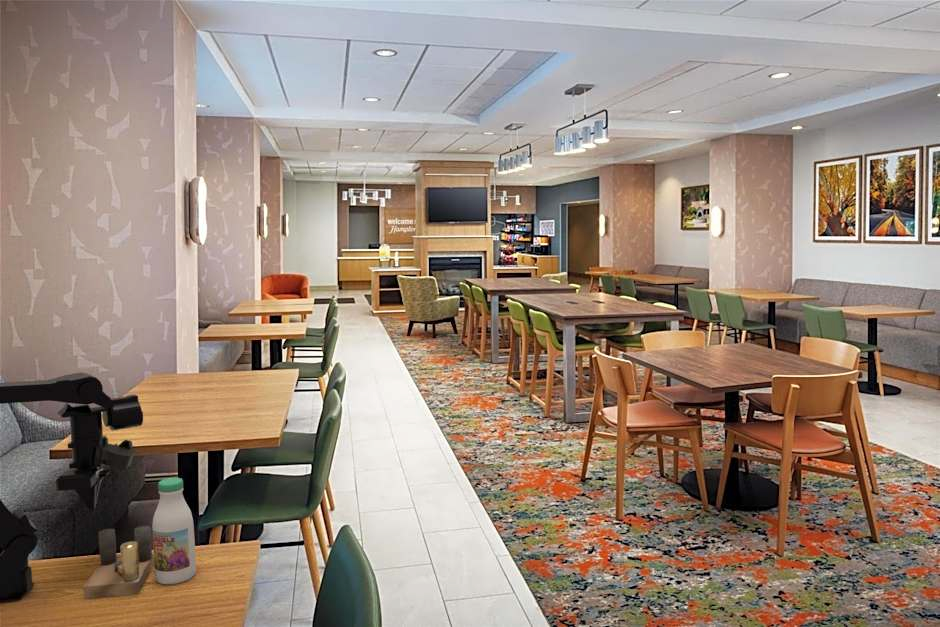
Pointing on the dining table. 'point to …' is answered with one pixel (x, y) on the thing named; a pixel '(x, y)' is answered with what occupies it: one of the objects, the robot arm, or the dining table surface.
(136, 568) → the gold cylinder with bar
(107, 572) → the square plate with pegs
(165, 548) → the milk bottle
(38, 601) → the dining table surface
